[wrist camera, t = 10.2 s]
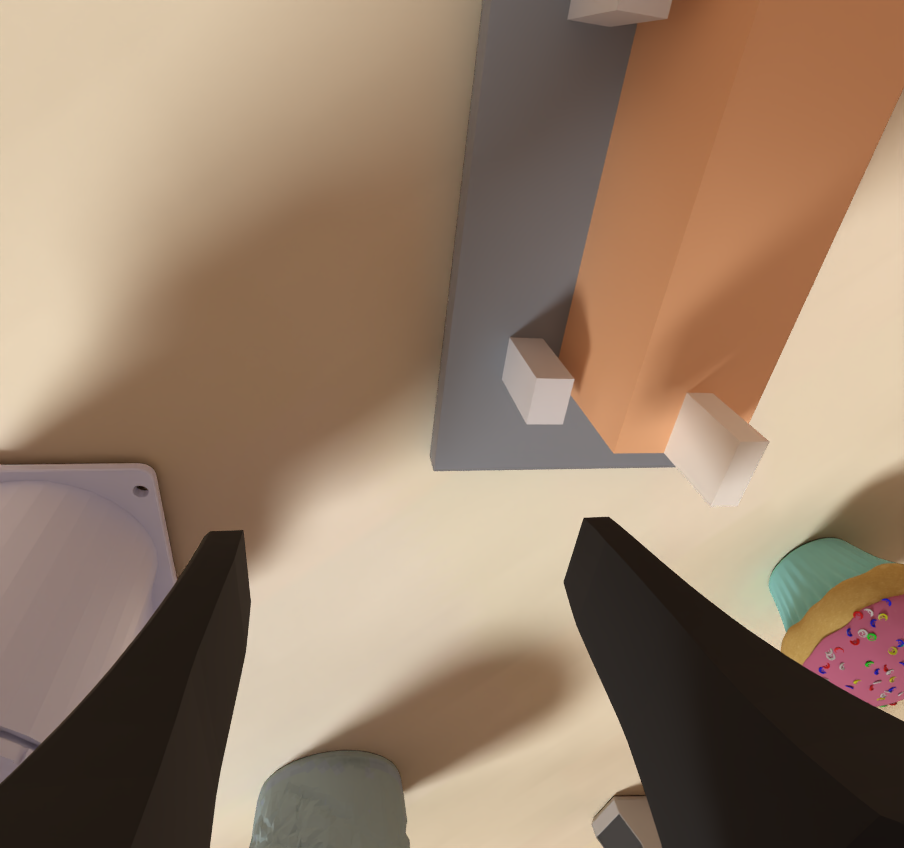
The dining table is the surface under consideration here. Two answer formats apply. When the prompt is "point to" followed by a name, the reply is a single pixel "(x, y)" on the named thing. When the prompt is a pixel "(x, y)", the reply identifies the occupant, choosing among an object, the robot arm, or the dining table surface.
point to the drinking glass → (332, 804)
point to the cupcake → (844, 617)
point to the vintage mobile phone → (626, 824)
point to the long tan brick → (721, 217)
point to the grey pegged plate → (530, 233)
